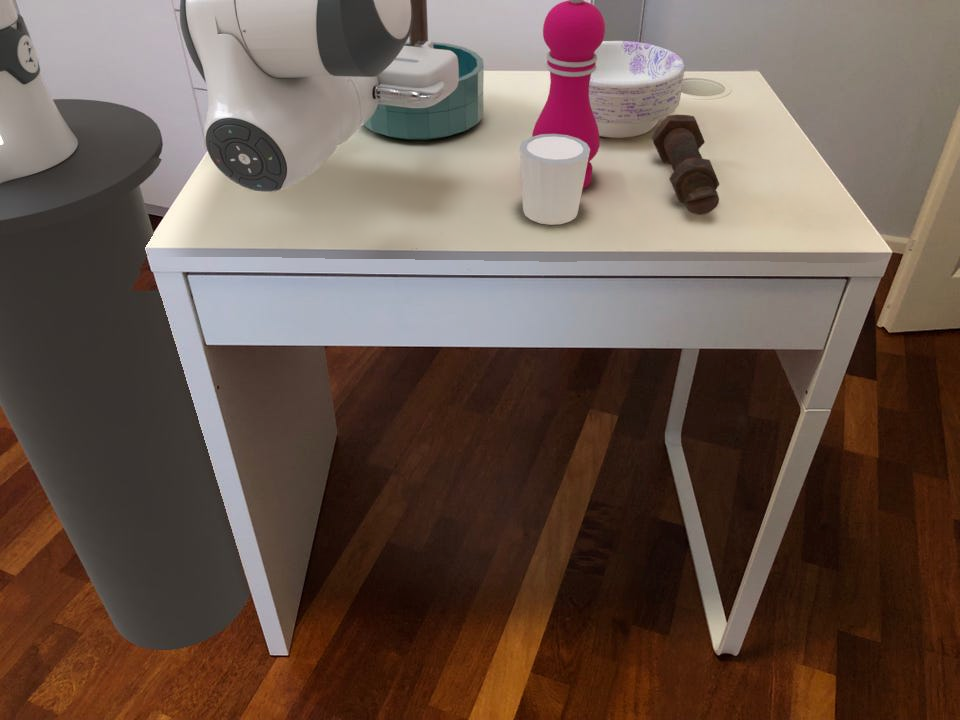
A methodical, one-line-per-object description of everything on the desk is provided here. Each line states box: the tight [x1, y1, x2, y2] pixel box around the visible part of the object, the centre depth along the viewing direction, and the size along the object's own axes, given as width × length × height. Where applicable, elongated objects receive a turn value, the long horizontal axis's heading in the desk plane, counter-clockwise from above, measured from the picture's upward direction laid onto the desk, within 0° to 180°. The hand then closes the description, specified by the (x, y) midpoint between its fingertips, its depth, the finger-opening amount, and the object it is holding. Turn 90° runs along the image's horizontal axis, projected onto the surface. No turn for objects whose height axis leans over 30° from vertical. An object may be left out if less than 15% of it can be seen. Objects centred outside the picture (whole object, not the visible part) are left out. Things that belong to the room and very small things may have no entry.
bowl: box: [363, 41, 485, 141], centre depth 98 cm, size 16×16×7 cm
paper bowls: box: [589, 40, 686, 139], centre depth 96 cm, size 15×15×8 cm
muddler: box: [408, 0, 429, 47], centre depth 94 cm, size 4×4×18 cm
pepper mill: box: [531, 0, 606, 190], centre depth 81 cm, size 7×7×20 cm
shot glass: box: [519, 134, 590, 226], centre depth 79 cm, size 7×7×7 cm
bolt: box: [651, 114, 720, 216], centre depth 84 cm, size 6×5×15 cm
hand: (386, 43), depth 85 cm, fingers open, 8 cm apart
